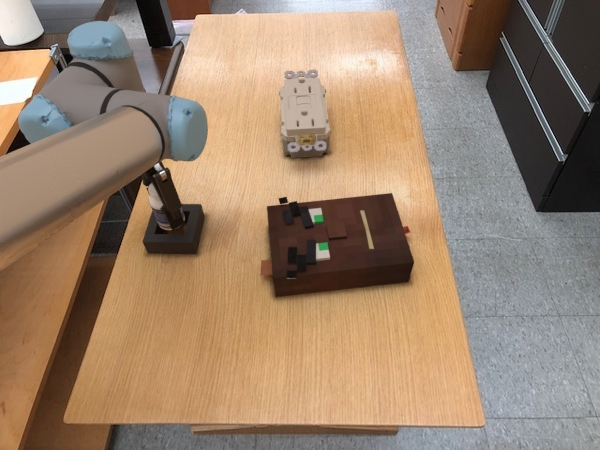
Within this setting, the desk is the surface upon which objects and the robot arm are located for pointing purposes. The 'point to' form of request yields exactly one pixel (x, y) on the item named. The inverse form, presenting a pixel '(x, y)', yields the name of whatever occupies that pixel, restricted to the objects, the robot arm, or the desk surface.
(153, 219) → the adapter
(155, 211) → the pill bottle
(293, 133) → the electrical outlet
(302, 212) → the decorative book
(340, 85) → the desk surface
